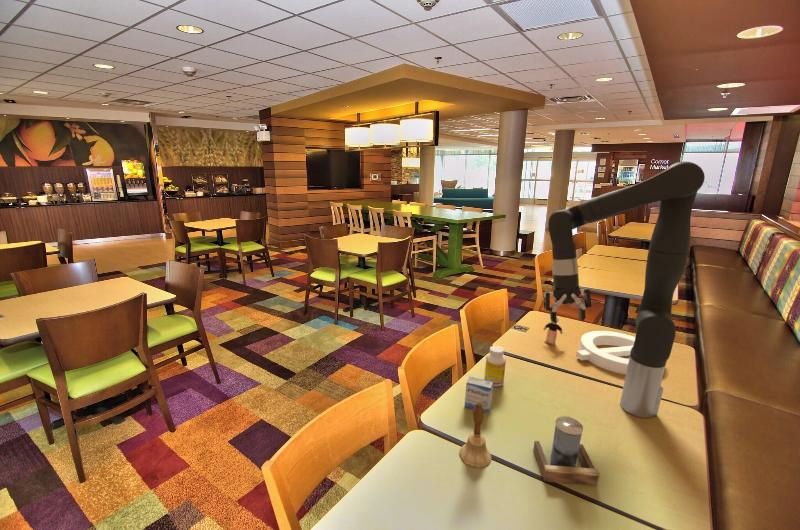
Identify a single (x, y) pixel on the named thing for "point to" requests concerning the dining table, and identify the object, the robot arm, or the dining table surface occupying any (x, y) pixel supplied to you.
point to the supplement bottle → (495, 366)
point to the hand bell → (476, 443)
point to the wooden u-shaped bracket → (567, 469)
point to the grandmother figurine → (552, 332)
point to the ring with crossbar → (606, 350)
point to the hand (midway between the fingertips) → (568, 321)
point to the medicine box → (478, 393)
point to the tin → (566, 442)
